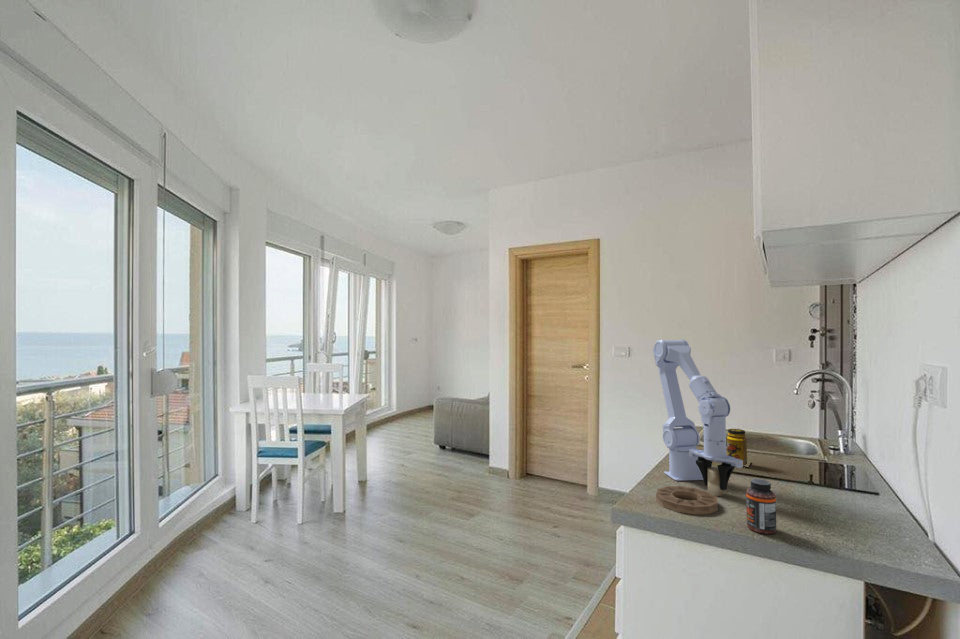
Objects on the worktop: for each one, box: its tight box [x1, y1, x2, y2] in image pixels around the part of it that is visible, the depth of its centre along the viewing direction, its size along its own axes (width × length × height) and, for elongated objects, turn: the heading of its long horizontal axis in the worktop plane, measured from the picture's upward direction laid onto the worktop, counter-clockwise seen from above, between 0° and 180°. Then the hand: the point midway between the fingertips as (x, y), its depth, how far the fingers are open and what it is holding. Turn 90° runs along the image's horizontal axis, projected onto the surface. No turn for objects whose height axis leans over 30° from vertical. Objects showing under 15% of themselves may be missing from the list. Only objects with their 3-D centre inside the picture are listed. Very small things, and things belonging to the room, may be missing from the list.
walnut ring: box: [655, 485, 719, 515], centre depth 122 cm, size 15×15×2 cm
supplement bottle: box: [745, 478, 777, 535], centre depth 106 cm, size 6×6×11 cm
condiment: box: [726, 428, 748, 465], centre depth 158 cm, size 7×8×12 cm
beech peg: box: [707, 466, 724, 497], centre depth 129 cm, size 4×4×7 cm
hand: (715, 487), depth 129 cm, fingers closed on beech peg, 4 cm apart
